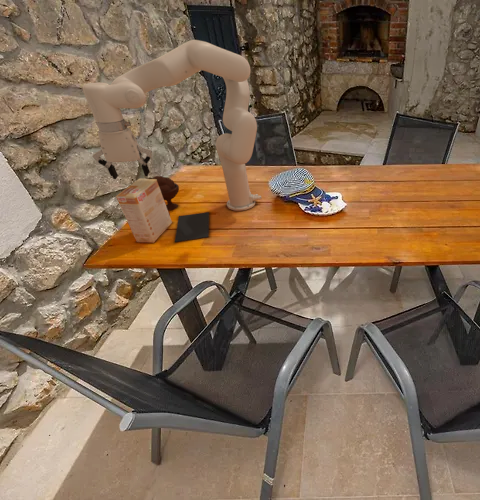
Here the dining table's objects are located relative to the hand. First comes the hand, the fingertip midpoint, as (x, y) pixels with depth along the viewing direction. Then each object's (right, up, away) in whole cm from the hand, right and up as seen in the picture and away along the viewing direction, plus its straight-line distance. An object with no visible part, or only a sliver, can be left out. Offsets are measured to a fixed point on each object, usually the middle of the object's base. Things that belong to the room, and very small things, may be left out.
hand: (131, 176), depth 112 cm
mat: (+13, -16, +18) cm, 28 cm away
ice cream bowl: (-3, -7, +31) cm, 31 cm away
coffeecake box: (0, -19, +14) cm, 24 cm away
